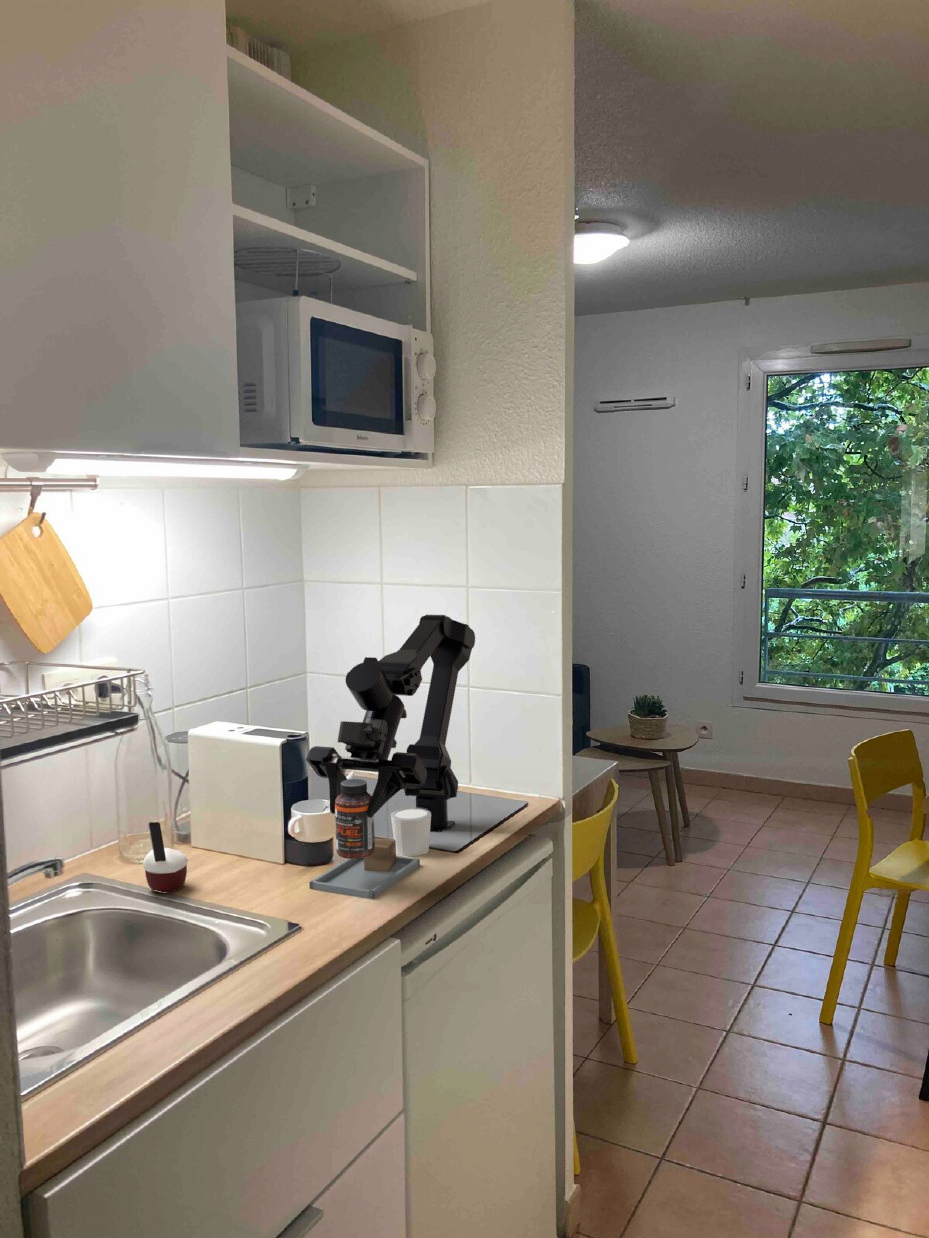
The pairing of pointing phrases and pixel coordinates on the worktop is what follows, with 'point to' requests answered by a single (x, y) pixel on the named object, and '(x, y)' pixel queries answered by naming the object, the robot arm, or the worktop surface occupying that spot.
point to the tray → (362, 877)
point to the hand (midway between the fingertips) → (350, 814)
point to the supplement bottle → (354, 821)
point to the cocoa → (164, 864)
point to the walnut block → (382, 856)
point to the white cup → (411, 831)
